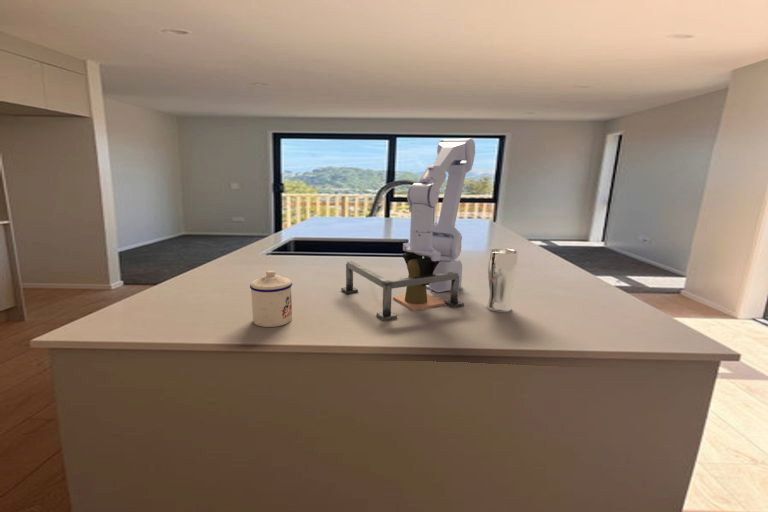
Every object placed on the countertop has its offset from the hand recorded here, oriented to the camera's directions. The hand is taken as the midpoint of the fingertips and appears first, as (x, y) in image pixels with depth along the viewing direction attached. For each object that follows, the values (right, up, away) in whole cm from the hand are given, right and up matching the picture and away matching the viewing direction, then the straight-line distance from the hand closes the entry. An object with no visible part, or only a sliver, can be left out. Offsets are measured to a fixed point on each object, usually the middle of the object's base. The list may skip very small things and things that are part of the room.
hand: (419, 282), depth 103 cm
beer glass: (+20, -7, -2) cm, 21 cm away
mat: (0, -5, +1) cm, 5 cm away
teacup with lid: (-35, -8, -12) cm, 38 cm away
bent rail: (-5, -5, +4) cm, 8 cm away
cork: (-1, -5, +1) cm, 5 cm away
